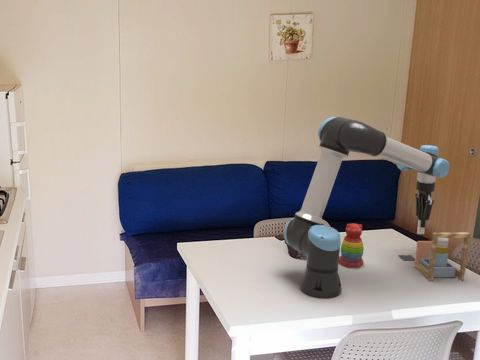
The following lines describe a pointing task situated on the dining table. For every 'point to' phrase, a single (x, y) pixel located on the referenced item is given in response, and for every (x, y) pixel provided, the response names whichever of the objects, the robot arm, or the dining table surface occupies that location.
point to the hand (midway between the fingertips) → (420, 233)
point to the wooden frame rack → (458, 273)
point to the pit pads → (407, 257)
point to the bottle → (441, 253)
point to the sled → (423, 258)
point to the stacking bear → (352, 247)
